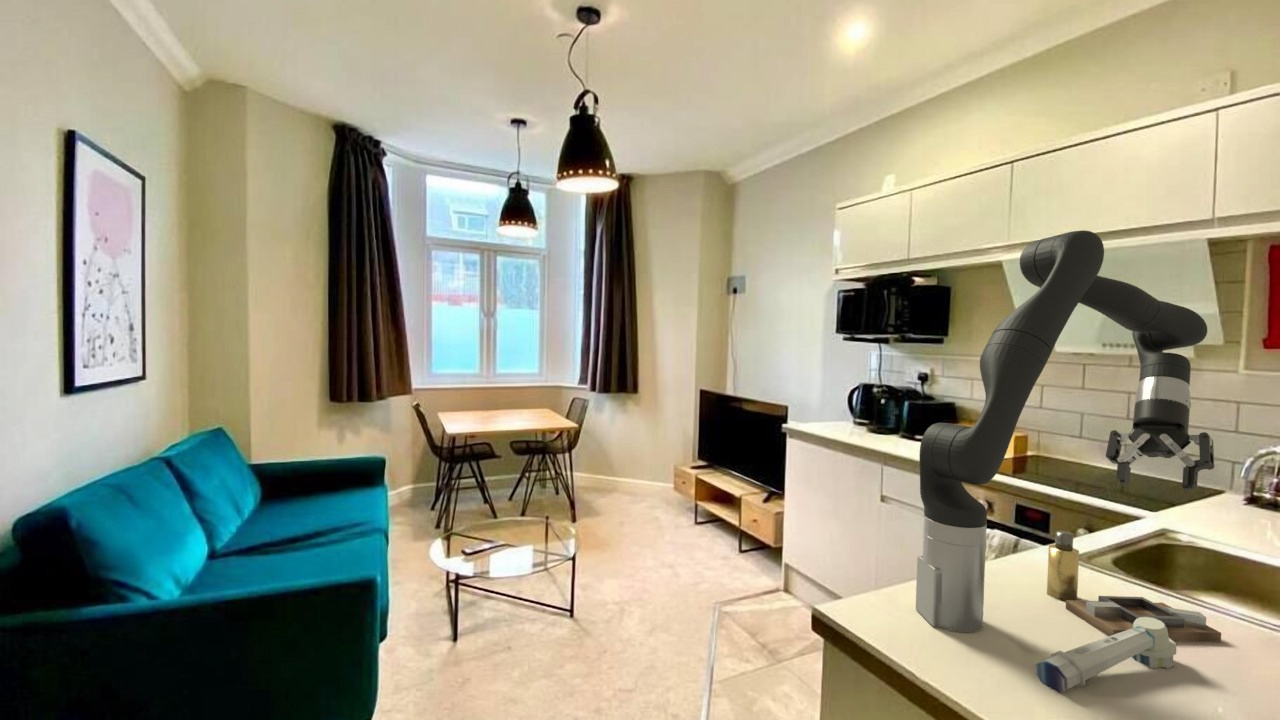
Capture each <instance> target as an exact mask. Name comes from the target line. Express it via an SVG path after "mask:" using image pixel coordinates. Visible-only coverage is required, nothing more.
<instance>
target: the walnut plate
mask: <svg viewBox="0 0 1280 720" xmlns="http://www.w3.org/2000/svg"><path fill="white" fill-rule="evenodd" d="M1086 601H1087V600H1077V601H1075V600H1066V601H1065V609H1066V610H1067V611H1069V612H1071V613H1072V614H1073V615H1074V616H1077V617H1078V618H1079V619H1081V620H1083V621H1084V620H1085V621H1084V622H1086V623H1087V624H1089V625H1090V626H1092V627H1094V628H1096V629H1097V630H1098V631H1099V632H1102V633H1103V634H1104V635H1106V637H1109V636H1112V635H1115V634H1117V633H1120V632H1123V631H1126V630H1129V629H1132V628H1133V624H1131V623H1129V622H1128V621H1126V620H1124V619H1122V618H1116V617H1094V616H1092V615H1090V614H1089V613H1087V612H1086ZM1093 601H1094V602H1098V600H1093ZM1154 603H1155V604H1157V605H1159V606H1161V607H1163V608H1164V609H1166V607H1168V608H1173V607H1172V606H1170V605H1168V604H1166V603H1164V602H1154ZM1124 608H1125V609H1127V610H1129V611H1131V612H1132V613H1134V614H1136V615H1146V616H1156V615H1154V614H1153V613H1151V612H1149V611H1147V610H1145V609H1143V608H1141V607H1124ZM1167 630H1168V636H1169V638H1170V639H1171V640H1172V641H1173V642H1174V641H1175V642H1176V641H1177V642H1179V641H1180V642H1205V643H1207V642H1209V643H1211V642H1212V643H1214V642H1215V643H1222V632H1221V631H1218V630H1217V629H1215V628H1213V627H1211V626H1209V625H1207V624H1206V628H1201V627H1195V626H1189V625H1184V628H1167Z"/></svg>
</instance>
